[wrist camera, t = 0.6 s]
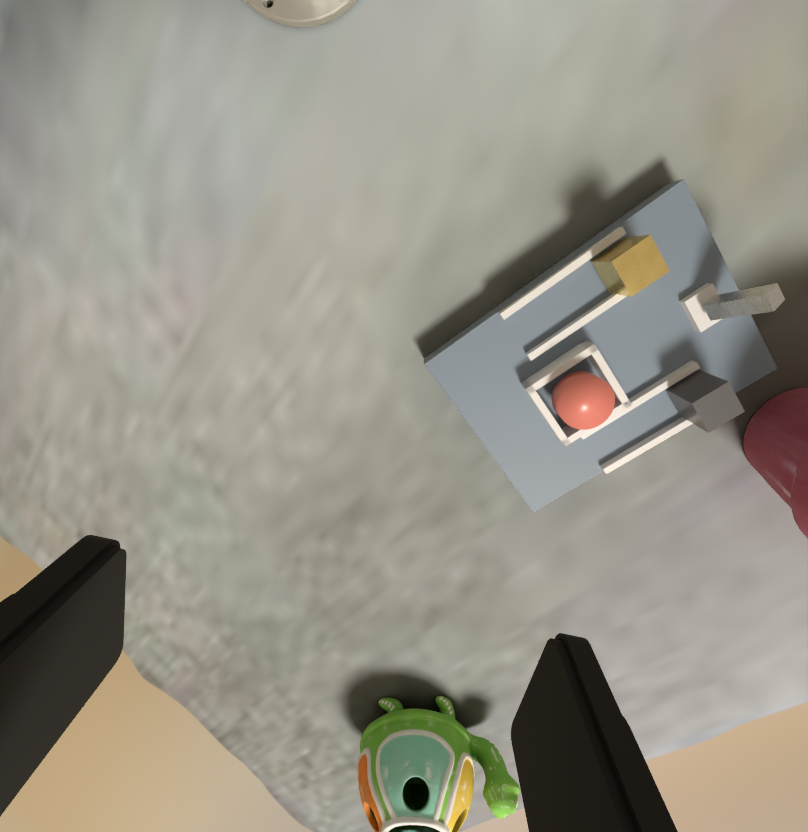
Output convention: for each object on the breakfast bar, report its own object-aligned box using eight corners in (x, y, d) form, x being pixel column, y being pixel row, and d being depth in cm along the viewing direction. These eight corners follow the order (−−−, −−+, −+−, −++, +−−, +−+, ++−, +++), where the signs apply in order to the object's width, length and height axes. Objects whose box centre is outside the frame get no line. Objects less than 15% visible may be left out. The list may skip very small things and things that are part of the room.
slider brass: (590, 261, 36) (611, 261, 32) (625, 237, 35) (650, 234, 31) (609, 293, 36) (631, 296, 33) (643, 269, 36) (669, 270, 32)
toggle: (702, 306, 35) (765, 294, 31) (713, 295, 36) (777, 282, 31) (710, 320, 36) (773, 311, 31) (721, 310, 36) (785, 299, 32)
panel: (423, 358, 42) (424, 369, 37) (666, 184, 36) (699, 174, 32) (527, 499, 46) (538, 523, 42) (756, 362, 41) (796, 374, 37)
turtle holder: (503, 762, 59) (523, 882, 47) (363, 759, 59) (351, 876, 48) (509, 691, 55) (533, 803, 43) (360, 688, 55) (345, 798, 44)
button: (541, 390, 38) (548, 397, 36) (588, 360, 37) (597, 365, 35) (568, 431, 39) (576, 439, 37) (614, 402, 38) (625, 409, 36)
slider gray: (665, 389, 39) (692, 403, 35) (698, 369, 38) (728, 381, 35) (680, 416, 40) (708, 432, 36) (713, 396, 39) (744, 411, 35)
